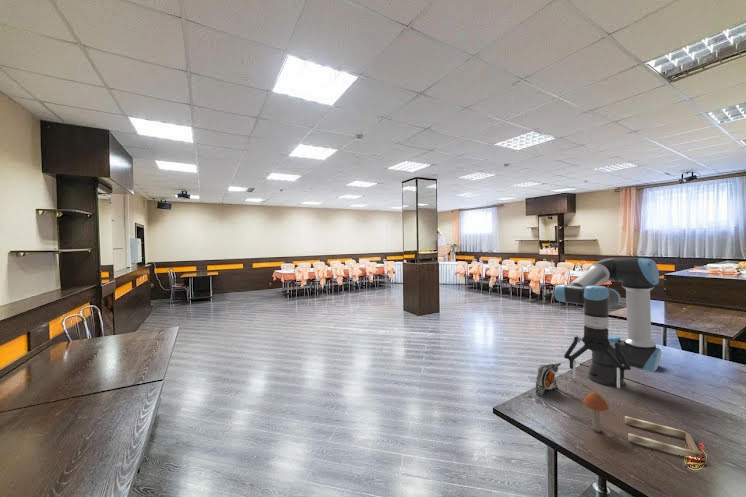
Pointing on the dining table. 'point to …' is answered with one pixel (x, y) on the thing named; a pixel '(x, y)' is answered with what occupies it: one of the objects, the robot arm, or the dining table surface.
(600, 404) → the mushroom
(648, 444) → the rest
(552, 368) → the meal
